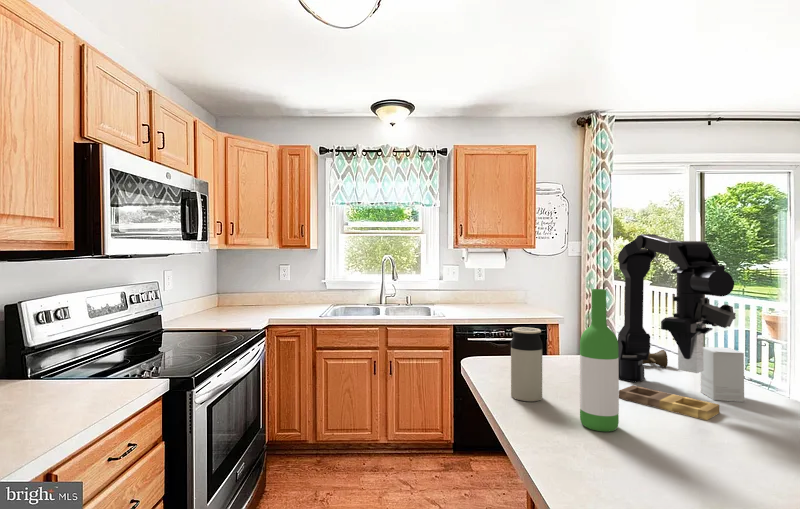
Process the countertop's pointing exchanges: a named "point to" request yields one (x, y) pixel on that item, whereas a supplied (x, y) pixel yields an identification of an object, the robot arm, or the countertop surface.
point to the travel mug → (526, 364)
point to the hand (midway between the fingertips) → (690, 357)
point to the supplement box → (723, 374)
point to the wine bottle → (599, 370)
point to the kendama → (657, 358)
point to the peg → (693, 357)
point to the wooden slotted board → (670, 402)
